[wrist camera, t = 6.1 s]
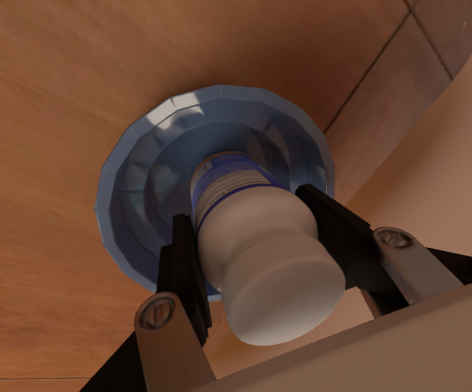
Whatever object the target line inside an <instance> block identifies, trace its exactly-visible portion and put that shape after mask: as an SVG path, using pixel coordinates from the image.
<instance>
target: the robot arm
mask: <svg viewBox="0 0 472 392" xmlns="http://www.w3.org/2000/svg"><path fill="white" fill-rule="evenodd" d="M295 195H296V196H297V197H298V198H299V199H300V200H301V201H302V202H304V203H305V204H306V206H307V207H308V208H309V209H310V210H311V212H312V214H313V215H314V218H315V220H316V223H317V227H318V241H319V242H320V243H321V244H322V245H323V246H324V247H325V249H326V251H327V252H328V253H329V254H330V256H331V257H332V258H333V259H334V260H335V262H336V263H337V264H338V265H339V267H340V268H341V270H342V271H343V274H344V276H345V290H347V289H350V288H353V287H356V286H357V287H358V288H359V289H360V291H361V293H362V295H363V297H364V299H365V301H366V303H367V305H368V307H369V309H370V311H371V313H372V315H373V317H374V320H371V321H368V322H366V323H363V324H360V325H358V326H355V327H353V328H350V329H347V330H345V331H342V332H339V333H337V334H334V335H332V336H329V337H327V338H324V339H321V340H318V341H316V342H313V343H311V344H308V345H306V346H303V347H300V348H298V349H295V350H292V351H290V352H287V353H285V354H282V355H279V356H277V357H274V358H272V359H269V360H267V361H264V362H261V363H259V364H256V365H254V366H251V367H249V368H246V369H243V370H241V371H238V372H236V373H233V374H231V375H228V376H226V377H223V378H221V379H218V380H217V379H216V377H215V375H214V373H213V371H212V369H211V367H210V365H209V362H208V360H207V358H206V356H205V353H204V351H203V349H202V348H203V346H204V344H205V343H206V338H208V337H209V336H208V328H210V327H212V321H211V315H210V308H209V302H208V295H207V289H206V282H205V277H204V275H203V273H202V271H201V268H200V265H199V261H198V255H197V247H196V237H195V232H194V229H193V225H192V221H191V218H190V215H185V213H182V214H178V215H173V226H172V244H169V245H165V246H162V247H161V249H160V259H159V269H158V279H157V289H156V294H155V295H152V296H151V297H149V298H148V299H147V300H145V301H144V303H143V304H142V305H141V306H140V307H139V309H138V310H137V312H136V315H135V318H134V328H135V331H134V332H133V333H132V334H131V335H130V336H129V337H128V338H127V340H126V341H125V342H124V343H123V344H122V345H121V346H120V347H119V348H118V349H117V351H116V352H115V353H114V354H113V355H112V356H111V357H110V358H109V359H108V360H107V362H106V363H105V364H104V365H103V366H102V367H101V368H100V369H99V370H98V371H97V373H96V374H95V375H94V376H93V377H92V378H91V379H90V380H89V381H88V382H87V384H86V385H85V386H84V387H83V388H82V389H81V390H80V391H79V392H472V257H471V256H465V255H461V254H456V253H451V252H447V251H442V250H437V249H432V248H427V247H424V246H423V245H422V244H421V243H420V242H419V241H418V240H417V239H416V238H415V237H414V236H412V235H411V234H410V233H408V232H406V231H404V230H401V229H398V228H393V227H379V228H377V229H375V230H374V231H373V230H371V229H370V224H368V223H367V222H366V221H364V220H363V219H361V218H360V217H359V216H357V215H356V214H354V213H353V212H351V211H350V210H348V209H347V208H345V207H344V206H342V205H341V204H340V203H338V202H337V201H335V200H334V199H332V198H331V197H329V196H328V195H326V194H325V193H324V192H322V191H321V190H319V189H318V188H316V187H315V186H313V185H312V184H310V183H308V184H304V185H300V186H298V189H296V190H295Z"/></svg>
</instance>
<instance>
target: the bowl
mask: <svg viewBox="0 0 472 392" xmlns="http://www.w3.org/2000/svg"><path fill="white" fill-rule="evenodd" d="M223 151H237V152H241V153H244V154H247V155H248V156H250V157H252V158H253V159H254V160H256V161H257V162H258V163H259V164H260V165H261V166H263V167H264V168H265V169H266V170H267V171H268V172H269V173H270V174H272V175H273V176H274V177H275V178H276V179H277V180H278V181H279V182H281V183H282V184H283V185H284V186H285V187H287V188H288V189H289V190H290V191H291V192H292V193H293V194H295V190H296V189H298V186H300V185H304V184H308V183H310V184H312V185H313V186H315V187H316V188H318V189H319V190H321V191H322V192H324V193H325V194H326V195H328V196H329V197H331V198H332V199H334V187H335V166H334V162H333V159H332V156H331V153H330V150H329V147H328V144H327V141H326V138H325V136H324V134H323V133H322V131H321V130H320V129H319V128H318V127H317V125H316V124H315V123H314V122H313V121H312V119H311V118H310V117H309V116H308V115H307V113H306V112H305V111H304V110H303V109H302V108H301V107H299V106H298V105H296V104H294V103H292V102H290V101H288V100H286V99H284V98H282V97H280V96H279V95H277V94H275V93H273V92H271V91H269V90H267V89H264V88H256V87H247V86H237V85H228V84H215V85H211V86H207V87H202V88H199V89H195V90H191V91H187V92H183V93H180V94H176V95H172V96H171V97H168V98H167V99H166V100H164V101H163V102H161V103H160V104H159V105H157V106H156V107H154V108H153V109H152V110H150V111H149V112H147V113H146V114H145V115H143V116H142V117H140V118H139V119H138V120H136V121H135V122H133V123H132V124H131V125H129V127H128V128H127V129H126V130H125V132H124V133H123V135H122V136H121V138H120V139H119V141H118V143H117V144H116V146H115V147H114V149H113V150H112V152H111V153H110V155H109V156H108V158H107V159H106V161H105V163H104V164H103V167H102V168H101V173H100V179H99V184H98V190H97V196H96V201H95V207H94V209H95V214H96V218H97V222H98V226H99V230H100V234H101V239H102V243H103V245H104V248H105V249H106V250H107V252H108V253H109V254H110V256H111V257H112V258H113V260H114V261H115V263H116V264H117V265H118V267H119V268H120V269H121V271H122V272H123V273H124V274H125V275H127V276H128V277H130V278H131V279H133V280H134V281H136V282H137V283H139V284H140V285H142V286H143V287H145V288H146V289H148V290H149V291H151V292H153V293H156V289H157V279H158V269H159V259H160V249H161V247H162V246H165V245H169V244H172V226H173V215H178V214H182V213H185V215H190V218H191V221H192V225H193V229H194V232H195V227H194V218H193V208H192V201H191V192H190V187H191V180H192V177H193V174H194V172H195V170H196V169H197V167H198V166H199V165H200V164H201V163H202V162H203V161H204V160H205V159H206V158H208V157H209V156H211V155H213V154H216V153H219V152H223ZM205 282H206V289H207V295H208V302H213V301H218V300H222V296H221V292H220V291H218V290H217V289H216V288H214V287H213V286H212V285H211V284H210V283H209V282H208V281H207V280H206V278H205Z"/></svg>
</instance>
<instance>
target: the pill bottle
mask: <svg viewBox="0 0 472 392" xmlns="http://www.w3.org/2000/svg"><path fill="white" fill-rule="evenodd" d="M190 192H191V201H192V208H193V218H194V227H195V237H196V247H197V255H198V261H199V265H200V268H201V271H202V273H203V275H204V277H205V278H206V280H207V281H208V282H209V283H210V284H211V285H212V286H213V287H214V288H216V289H217V290H218V291H220V292H221V296H222V300H223V303H224V307H225V311H226V315H227V319H228V323H229V326H230V328H231V330H232V332H233V334H234V335H235V336H236V337H237V338H238V339H240V340H241V341H243V342H245V343H248V344H252V345H260V346H266V345H275V344H280V343H283V342H287V341H290V340H292V339H295V338H297V337H299V336H301V335H304V334H306V333H307V332H309V331H310V330H312V329H313V328H315V327H316V326H318V325H319V324H320V323H321V322H323V321H324V320H325V319H326V318H327V317H328V316H329V315H330V314H331V313H332V312H333V311H334V310H335V308H336V307H337V305H338V304H339V302H340V300H341V298H342V296H343V293H344V290H345V276H344V274H343V271H342V270H341V268H340V267H339V265H338V264H337V263H336V262H335V260H334V259H333V258H332V257H331V256H330V254H329V253H328V252H327V251H326V249H325V247H324V246H323V245H322V244H321V243H320V242H319V241H318V227H317V223H316V220H315V218H314V215H313V214H312V212H311V210H310V209H309V208H308V207H307V206H306V204H305V203H304V202H302V201H301V200H300V199H299V198H298V197H297V196H296V195H295V194H293V193H292V192H291V191H290V190H289V189H288V188H287V187H285V186H284V185H283V184H282V183H281V182H279V181H278V180H277V179H276V178H275V177H274V176H273V175H272V174H270V173H269V172H268V171H267V170H266V169H265V168H264V167H263V166H261V165H260V164H259V163H258V162H257V161H256V160H254V159H253V158H252V157H250V156H248V155H247V154H244V153H241V152H237V151H223V152H219V153H216V154H213V155H211V156H209V157H208V158H206V159H205V160H204V161H203V162H202V163H201V164H200V165H199V166H198V167H197V169H196V170H195V172H194V174H193V177H192V180H191V187H190Z"/></svg>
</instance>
